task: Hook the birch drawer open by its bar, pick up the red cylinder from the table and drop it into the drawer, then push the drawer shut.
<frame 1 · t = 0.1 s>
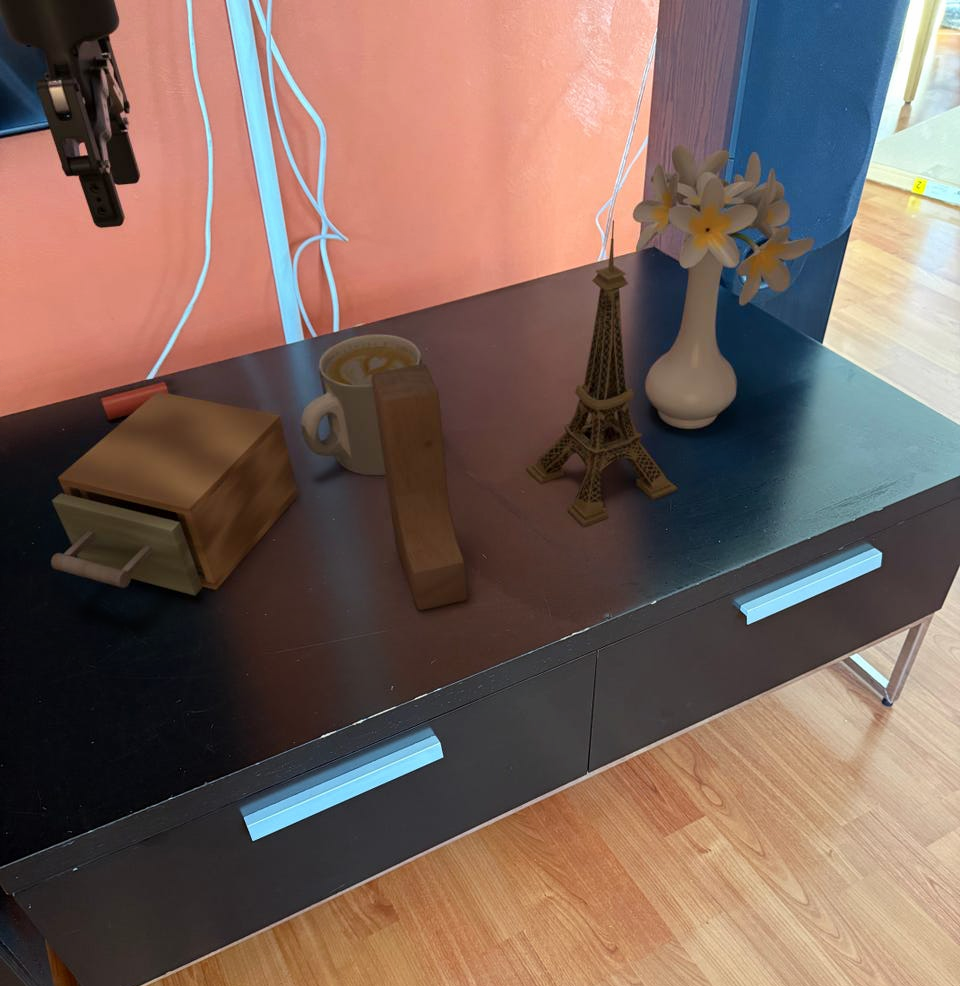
hand: (119, 203, 75), 28 cm above the table, tool pointing down, fingers open, 8 cm apart
drawer: (154, 518, 85), point 5 cm above the table, slide at 0.8 cm
flower vase: (694, 416, 100), on the table
eiffel tower: (599, 481, 93), on the table
cabinet: (198, 525, 91), on the table
coffee mug: (367, 454, 98), on the table
wooden block: (431, 575, 85), on the table
red cylinder: (139, 410, 106), on the table
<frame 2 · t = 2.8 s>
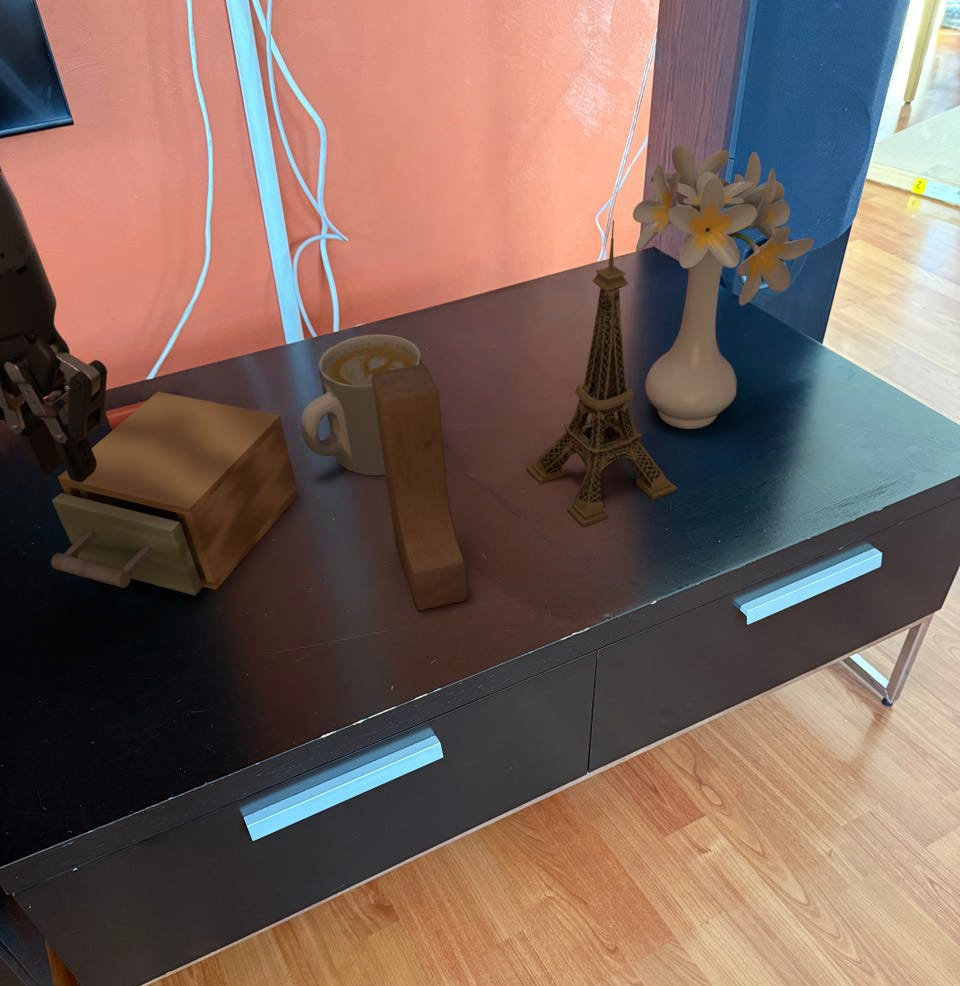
hand: (68, 471, 74), 14 cm above the table, tool pointing down, fingers closed
red cylinder: (137, 403, 103), point 2 cm above the table, tilted 146°
everything else where it was.
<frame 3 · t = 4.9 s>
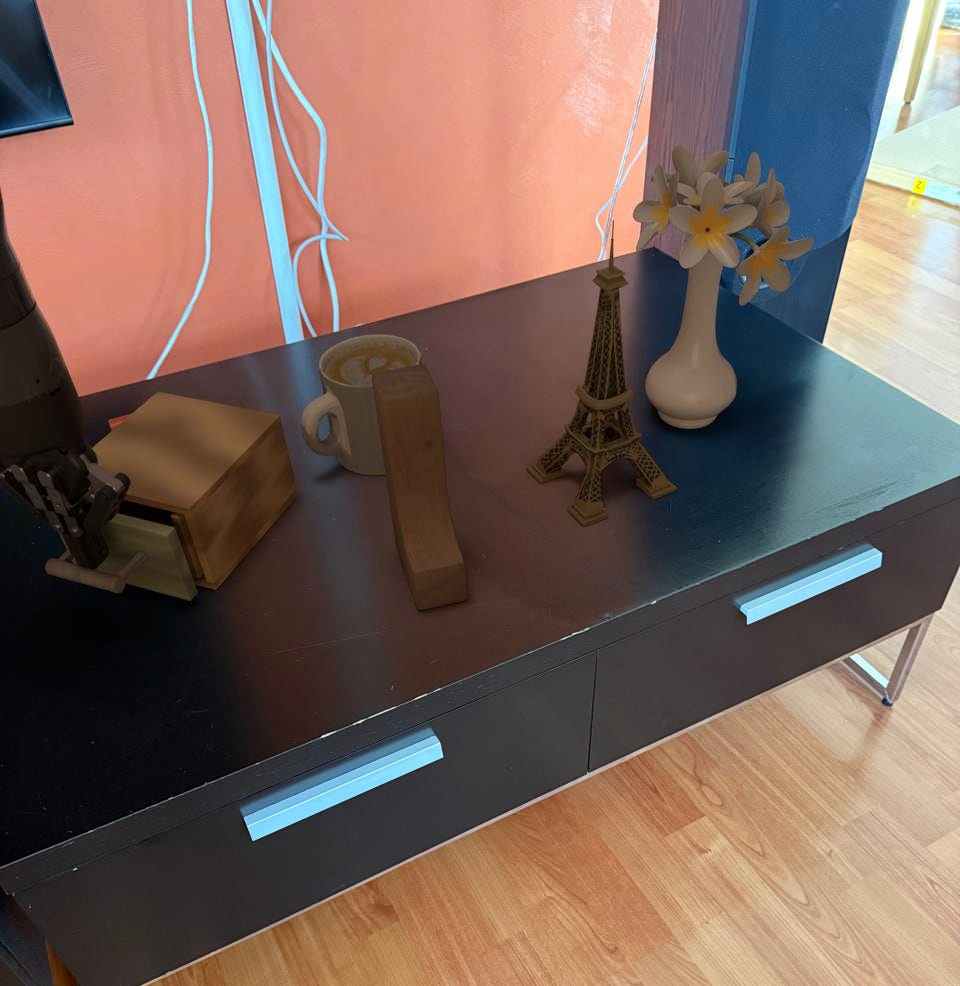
hand: (94, 561, 79), 6 cm above the table, tool pointing down, fingers closed
drawer: (149, 523, 84), point 5 cm above the table, slide at 1.5 cm, touching gripper
red cylinder: (144, 421, 101), point 2 cm above the table, tilted 126°
everything else where it was.
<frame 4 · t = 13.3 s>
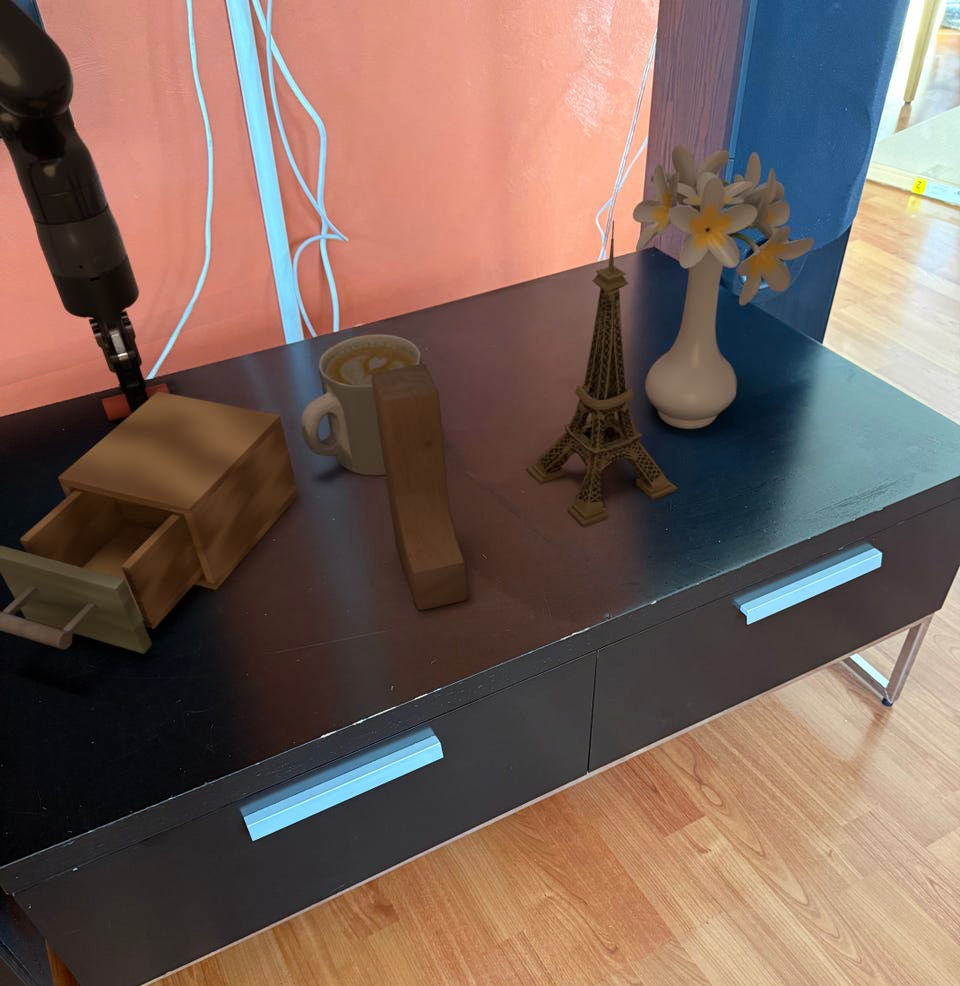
hand: (140, 409, 106), 0 cm above the table, tool pointing down, fingers closed on red cylinder, 2 cm apart
drawer: (102, 570, 80), point 5 cm above the table, slide at 8.2 cm
red cylinder: (136, 398, 106), point 1 cm above the table, tilted 82°, touching gripper
everything else where it was.
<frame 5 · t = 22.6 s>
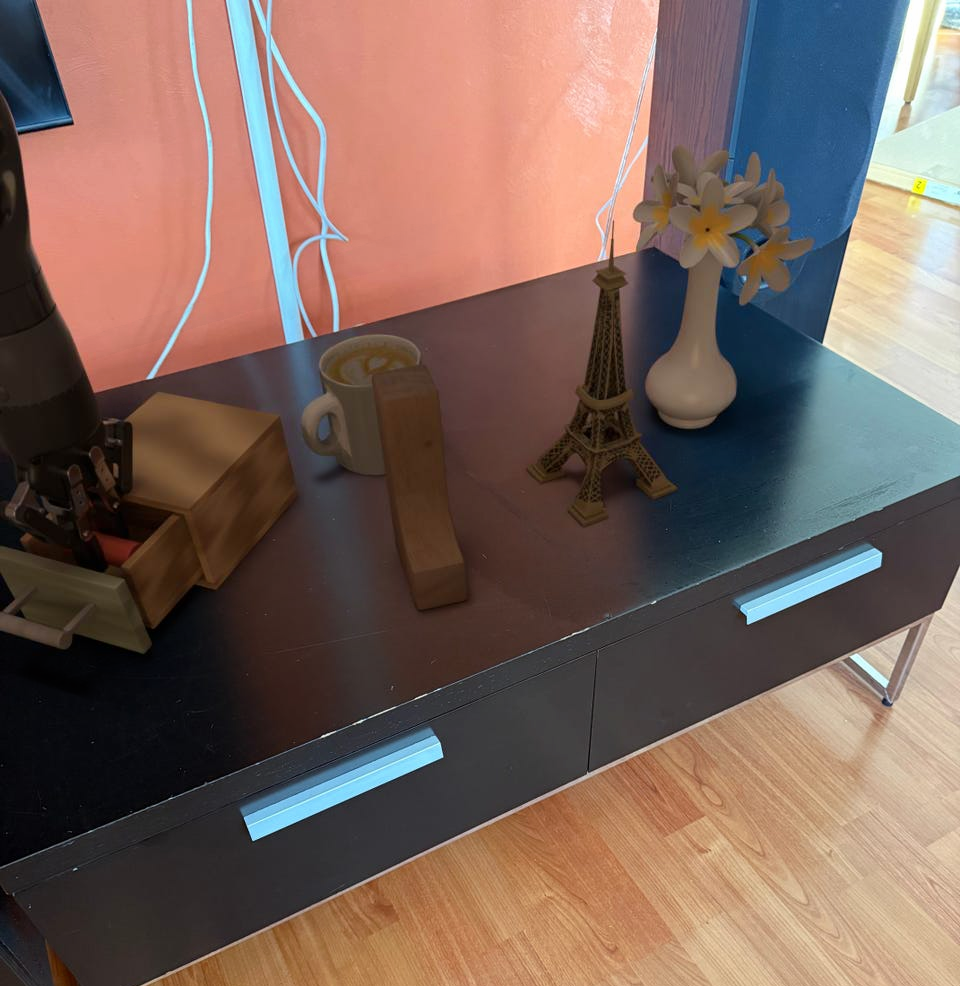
hand: (107, 557, 80), 5 cm above the table, tool pointing down, fingers closed on red cylinder, 2 cm apart
red cylinder: (113, 541, 80), point 6 cm above the table, tilted 82°, touching gripper
everything else where it was.
when the fingers open (8 cm above the table, at t = 27.8 s): red cylinder drops 5 cm and tips over, resting on drawer.
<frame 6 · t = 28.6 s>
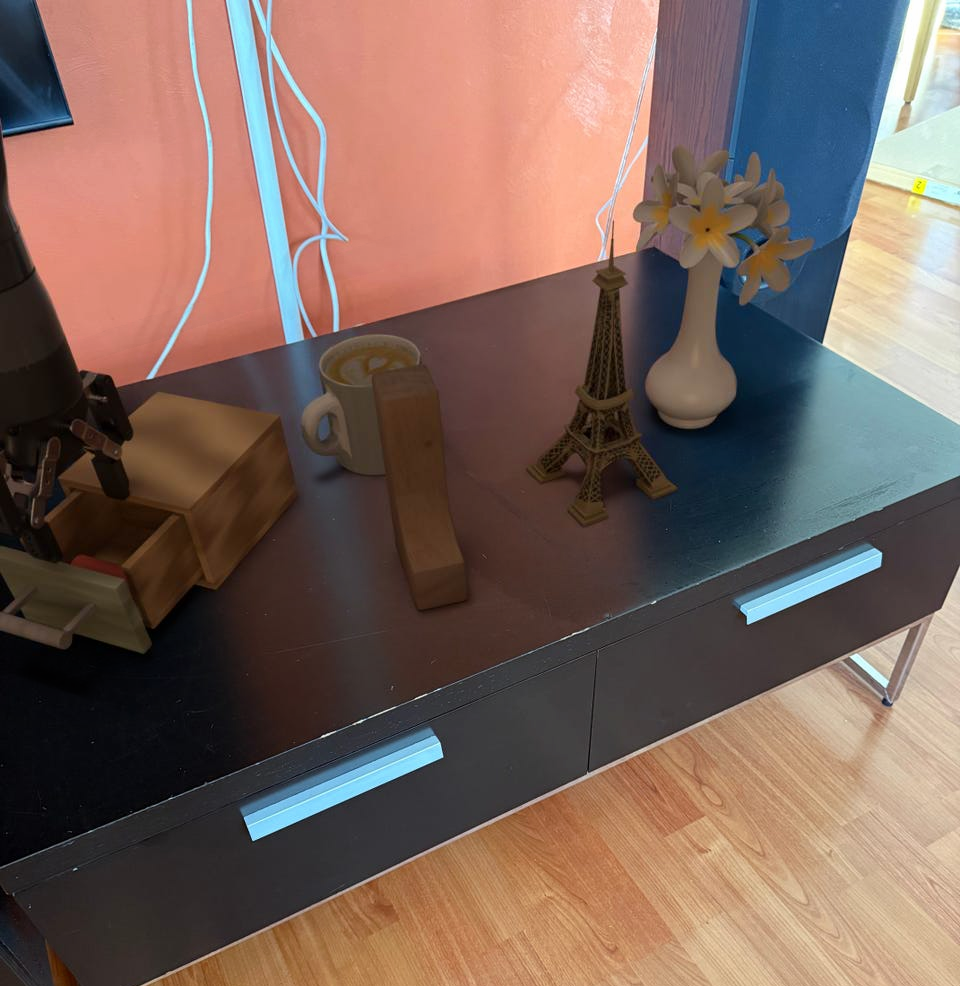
hand: (85, 527, 77), 9 cm above the table, tool pointing down, fingers open, 8 cm apart
drawer: (102, 570, 80), point 5 cm above the table, slide at 8.2 cm, touching red cylinder
red cylinder: (119, 566, 82), point 3 cm above the table, tilted 102°, touching drawer
everything else where it was.
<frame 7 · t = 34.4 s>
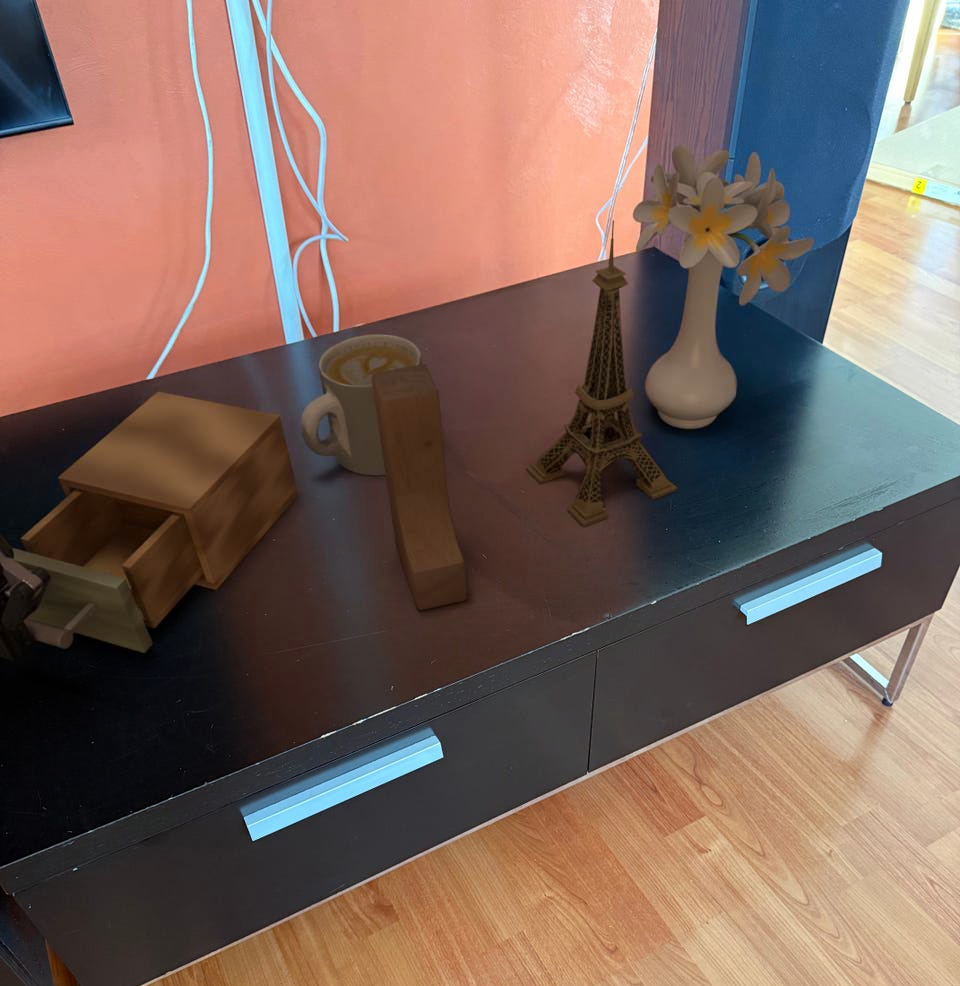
hand: (19, 652, 73), 5 cm above the table, tool pointing down, fingers closed
drawer: (102, 570, 80), point 5 cm above the table, slide at 8.1 cm, touching gripper, red cylinder
red cylinder: (87, 589, 79), point 4 cm above the table, tilted 150°, touching drawer
everything else where it was.
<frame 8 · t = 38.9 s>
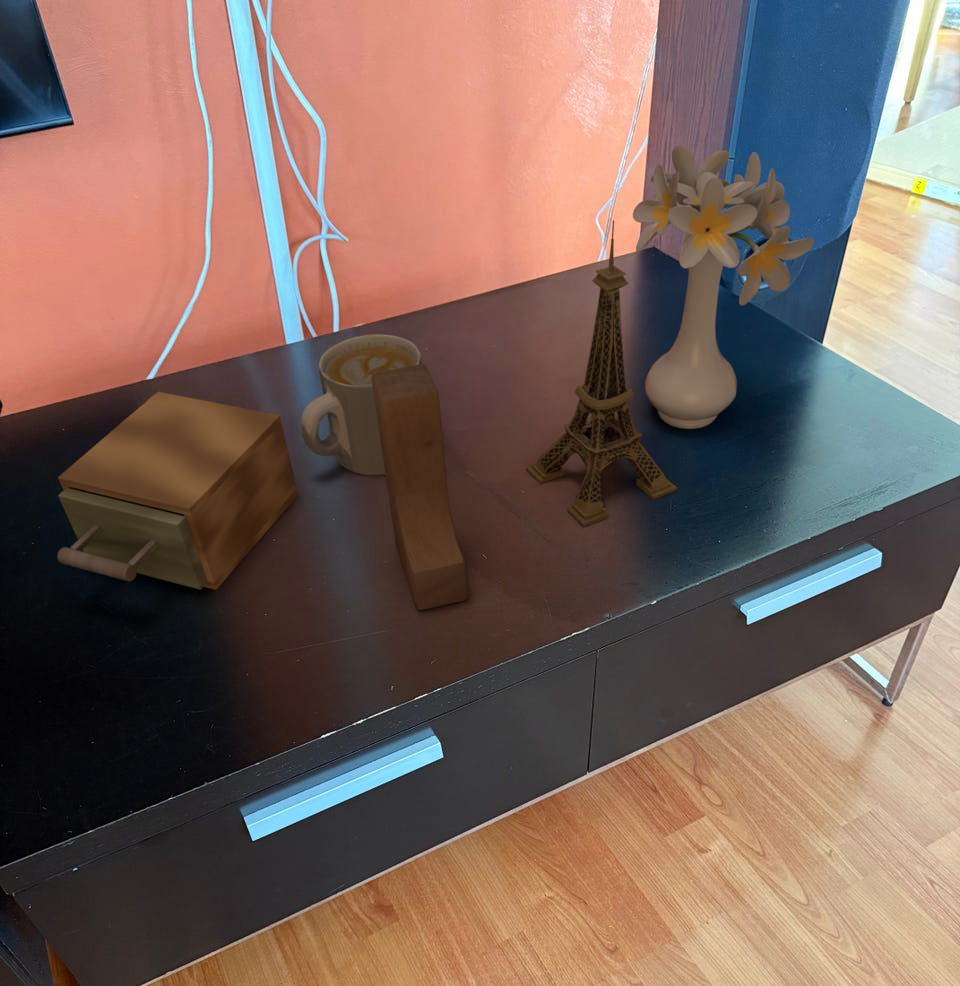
drawer: (159, 513, 85), point 5 cm above the table, slide at 0.0 cm, touching cabinet, red cylinder
red cylinder: (141, 538, 84), point 4 cm above the table, tilted 129°, touching drawer
everything else where it was.
at the end: drawer pulled out 8.2 cm at the most during the clip, back to where it started at the end; red cylinder inside the target area in the cabinet (6.5 cm from its centre), point 4.0 cm above the cabinet's base; drawer slide at 0.0 cm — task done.
